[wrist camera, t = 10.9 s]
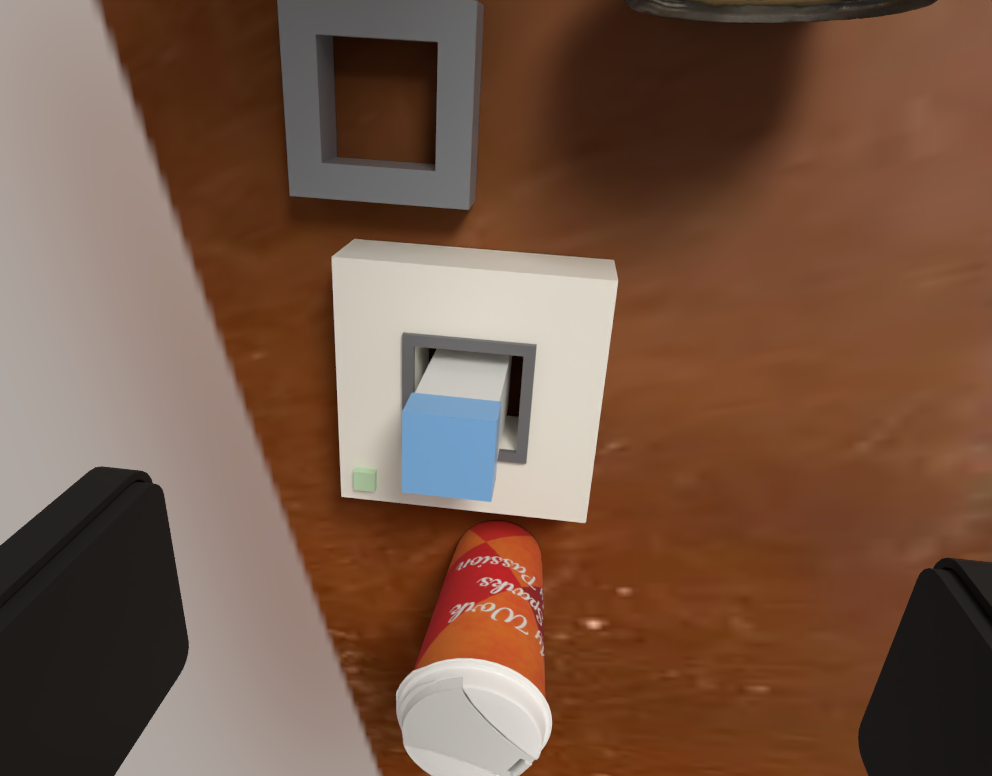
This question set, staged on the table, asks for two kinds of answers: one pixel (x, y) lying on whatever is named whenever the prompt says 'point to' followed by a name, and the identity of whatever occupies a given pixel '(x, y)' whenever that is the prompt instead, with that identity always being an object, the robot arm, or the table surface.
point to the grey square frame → (312, 113)
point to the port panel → (475, 328)
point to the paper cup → (481, 662)
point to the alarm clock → (774, 9)
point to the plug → (456, 425)
